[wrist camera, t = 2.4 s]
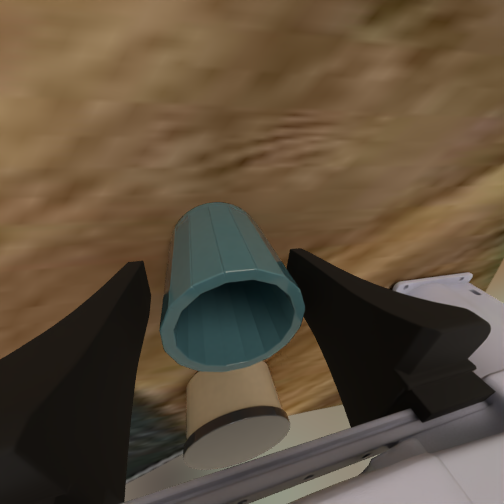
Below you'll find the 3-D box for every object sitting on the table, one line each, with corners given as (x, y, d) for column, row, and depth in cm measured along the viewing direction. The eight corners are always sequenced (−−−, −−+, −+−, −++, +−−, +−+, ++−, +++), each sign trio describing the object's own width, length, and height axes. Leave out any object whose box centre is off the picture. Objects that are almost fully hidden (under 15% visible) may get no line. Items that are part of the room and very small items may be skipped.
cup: (262, 201, 13) (318, 262, 7) (255, 274, 15) (292, 358, 10) (165, 202, 11) (147, 279, 6) (176, 282, 14) (171, 383, 9)
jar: (276, 347, 21) (298, 404, 17) (266, 395, 25) (282, 449, 21) (179, 366, 18) (177, 437, 14) (187, 414, 23) (188, 479, 19)
